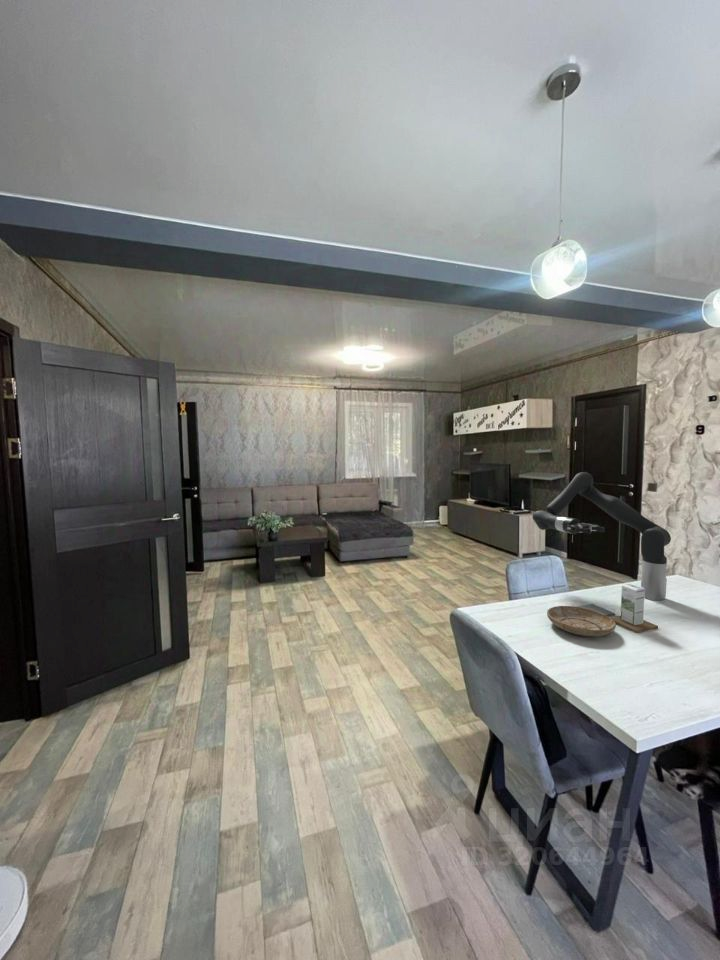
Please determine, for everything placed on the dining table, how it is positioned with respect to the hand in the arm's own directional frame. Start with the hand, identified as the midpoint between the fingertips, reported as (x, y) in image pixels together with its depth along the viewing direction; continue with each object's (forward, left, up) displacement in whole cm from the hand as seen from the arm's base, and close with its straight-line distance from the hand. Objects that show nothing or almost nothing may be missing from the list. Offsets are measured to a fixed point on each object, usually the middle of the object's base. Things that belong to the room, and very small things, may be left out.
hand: (597, 530), depth 177 cm
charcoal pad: (+10, +8, -33) cm, 36 cm away
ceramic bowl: (+29, +18, -34) cm, 48 cm away
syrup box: (+6, +22, -33) cm, 40 cm away
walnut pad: (+6, +22, -33) cm, 40 cm away
